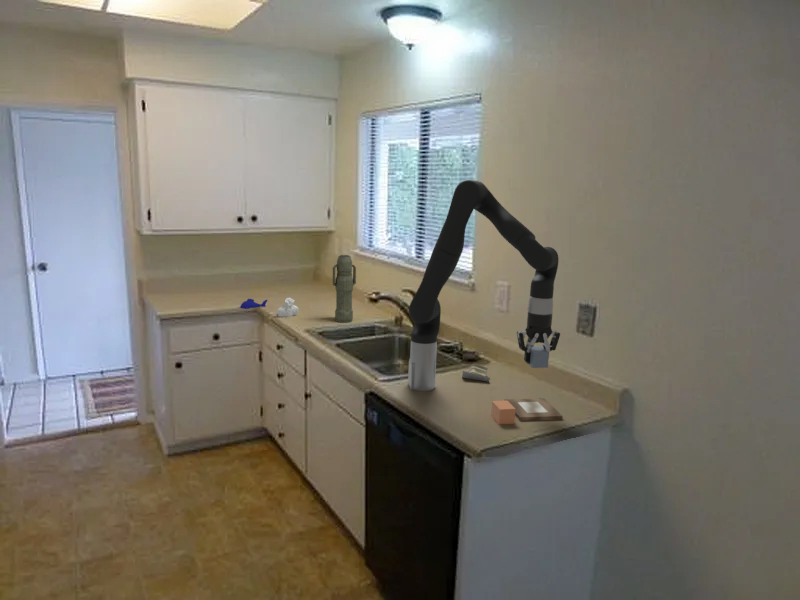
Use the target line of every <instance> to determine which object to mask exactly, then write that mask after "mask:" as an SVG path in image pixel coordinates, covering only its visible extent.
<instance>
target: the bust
mask: <svg viewBox="0 0 800 600" xmlns="http://www.w3.org/2000/svg"><path fill="white" fill-rule="evenodd" d="M295 302H296V300H295V299H294V298H292V297H286V298H285V300H284V304H283V305H281V306H279V307H278V308H277V315H278V317H279V318H291V317H294V316H293V315H295V316H297V315H298V313H299V311H300V308H299V307H298V306H297V305H295V304H294V303H295ZM290 316H291V317H290Z"/></svg>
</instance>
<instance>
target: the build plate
mask: <svg viewBox="0 0 800 600" xmlns="http://www.w3.org/2000/svg"><path fill="white" fill-rule="evenodd" d="M505 400H507V401H508V402H509V403H510V404H511V405H512V406H513V407H514V408H515V418H517V420H518V421H519V422H522V421H524V422H525V421H526V422H527V421H528V422H529V421H555V420H556V421H557V420H559V421H561V420H563V417H564V416H563V415H562V413H560V412H559V411H558V409H556V408H555V407H554V406H553V405H552V404H551V403H550V402H549V401H548V400H547V399H545V398H517V399H516V398H515V399H514V398H513V399H512V398H511V399H510V398H508V399H504V400H503V401H505Z"/></svg>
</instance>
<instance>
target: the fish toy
mask: <svg viewBox="0 0 800 600" xmlns="http://www.w3.org/2000/svg"><path fill="white" fill-rule="evenodd" d="M267 302H268V299H265V300H263V301H262V303H257V302H255V300H254V299H252V298H247V300H245V301H243V302H242V303H241V304H240V309H245V310H250V309H254V308H259V307H263V308H265V307H267V306H266V303H267Z"/></svg>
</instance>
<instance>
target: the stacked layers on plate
mask: <svg viewBox="0 0 800 600" xmlns="http://www.w3.org/2000/svg"><path fill="white" fill-rule="evenodd" d="M488 369H489V368H488V367H486V366H483V365H481V364H477V363H472V364H471V365H470V366H469V367H468V371H464V370H462V375H461V379H462V378H464V379H468V380H469V379H470V380H476V381H482V382H483V381H484V382H488V383H489V381H490V377H487V373H488Z"/></svg>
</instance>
